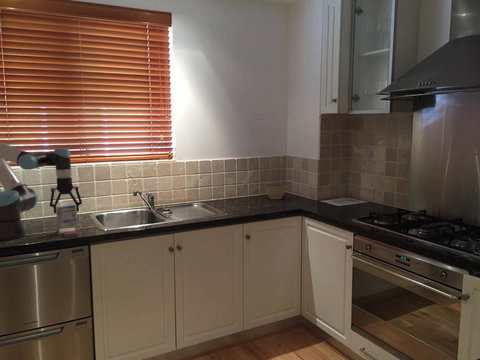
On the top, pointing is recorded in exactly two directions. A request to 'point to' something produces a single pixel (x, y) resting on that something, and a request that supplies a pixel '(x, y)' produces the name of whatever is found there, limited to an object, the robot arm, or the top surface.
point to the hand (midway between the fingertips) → (67, 218)
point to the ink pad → (71, 233)
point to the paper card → (66, 229)
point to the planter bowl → (275, 190)
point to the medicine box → (66, 214)
